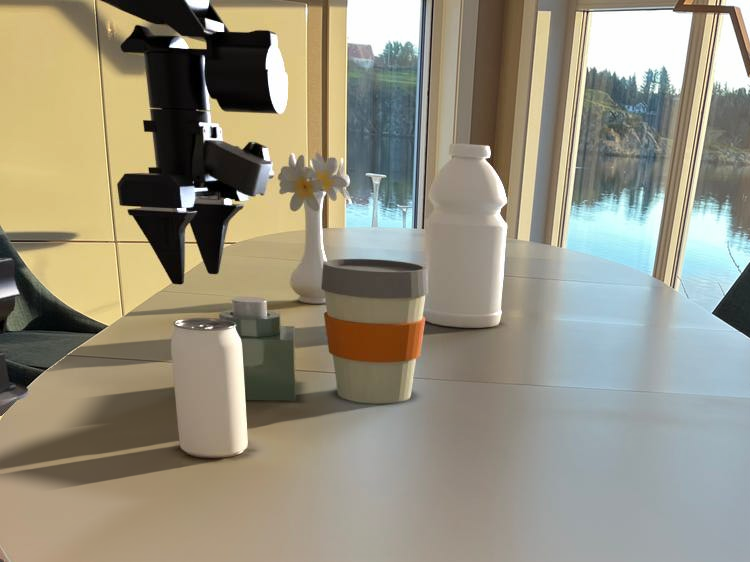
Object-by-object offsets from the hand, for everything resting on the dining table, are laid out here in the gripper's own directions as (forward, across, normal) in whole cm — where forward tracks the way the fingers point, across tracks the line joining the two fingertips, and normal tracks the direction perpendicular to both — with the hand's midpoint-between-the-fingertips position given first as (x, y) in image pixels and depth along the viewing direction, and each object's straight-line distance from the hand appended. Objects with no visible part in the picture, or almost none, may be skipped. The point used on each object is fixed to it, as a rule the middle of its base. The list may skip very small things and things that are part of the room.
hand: (196, 278), depth 100 cm
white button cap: (+5, +10, -2) cm, 11 cm away
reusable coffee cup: (+14, +14, -16) cm, 25 cm away
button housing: (+14, +10, -2) cm, 17 cm away
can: (+14, -14, -6) cm, 21 cm away
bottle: (+14, +72, -17) cm, 75 cm away
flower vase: (+14, +80, +12) cm, 82 cm away
